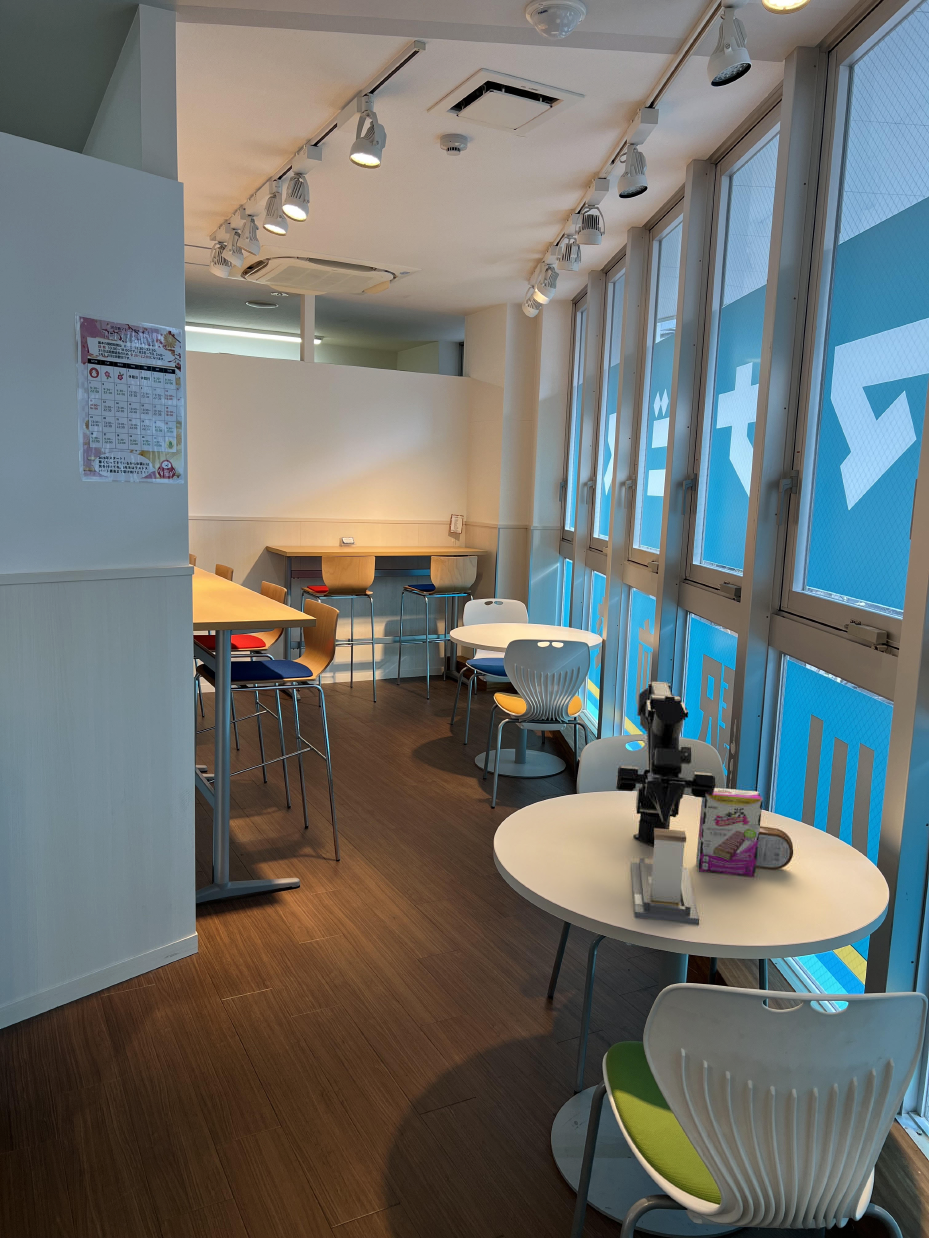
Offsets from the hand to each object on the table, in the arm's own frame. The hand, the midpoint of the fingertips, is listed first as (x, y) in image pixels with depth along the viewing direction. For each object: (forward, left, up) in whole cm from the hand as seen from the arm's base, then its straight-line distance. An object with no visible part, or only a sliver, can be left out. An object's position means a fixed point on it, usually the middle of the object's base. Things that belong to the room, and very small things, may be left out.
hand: (664, 821), depth 164 cm
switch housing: (+4, +4, -12) cm, 13 cm away
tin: (-23, +5, -12) cm, 26 cm away
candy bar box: (-16, +3, -12) cm, 20 cm away
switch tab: (+8, +8, -11) cm, 15 cm away
